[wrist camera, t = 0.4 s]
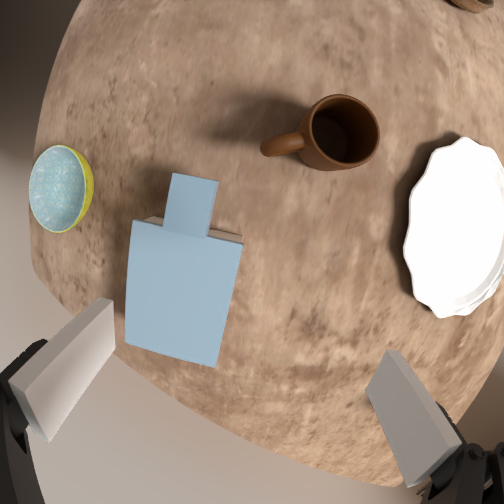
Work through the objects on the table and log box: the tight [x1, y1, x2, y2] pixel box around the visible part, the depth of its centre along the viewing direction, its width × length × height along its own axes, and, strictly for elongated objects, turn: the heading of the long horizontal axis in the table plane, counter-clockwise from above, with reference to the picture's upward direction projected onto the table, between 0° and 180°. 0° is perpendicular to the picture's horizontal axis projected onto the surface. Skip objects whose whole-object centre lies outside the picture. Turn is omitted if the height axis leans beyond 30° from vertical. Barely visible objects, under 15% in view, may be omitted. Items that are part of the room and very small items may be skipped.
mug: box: [260, 94, 380, 171], centre depth 27 cm, size 12×8×9 cm, turn 105°
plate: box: [403, 137, 504, 318], centre depth 33 cm, size 29×29×2 cm
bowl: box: [29, 145, 94, 233], centre depth 30 cm, size 11×12×6 cm
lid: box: [125, 173, 244, 368], centre depth 30 cm, size 22×13×3 cm, turn 167°
